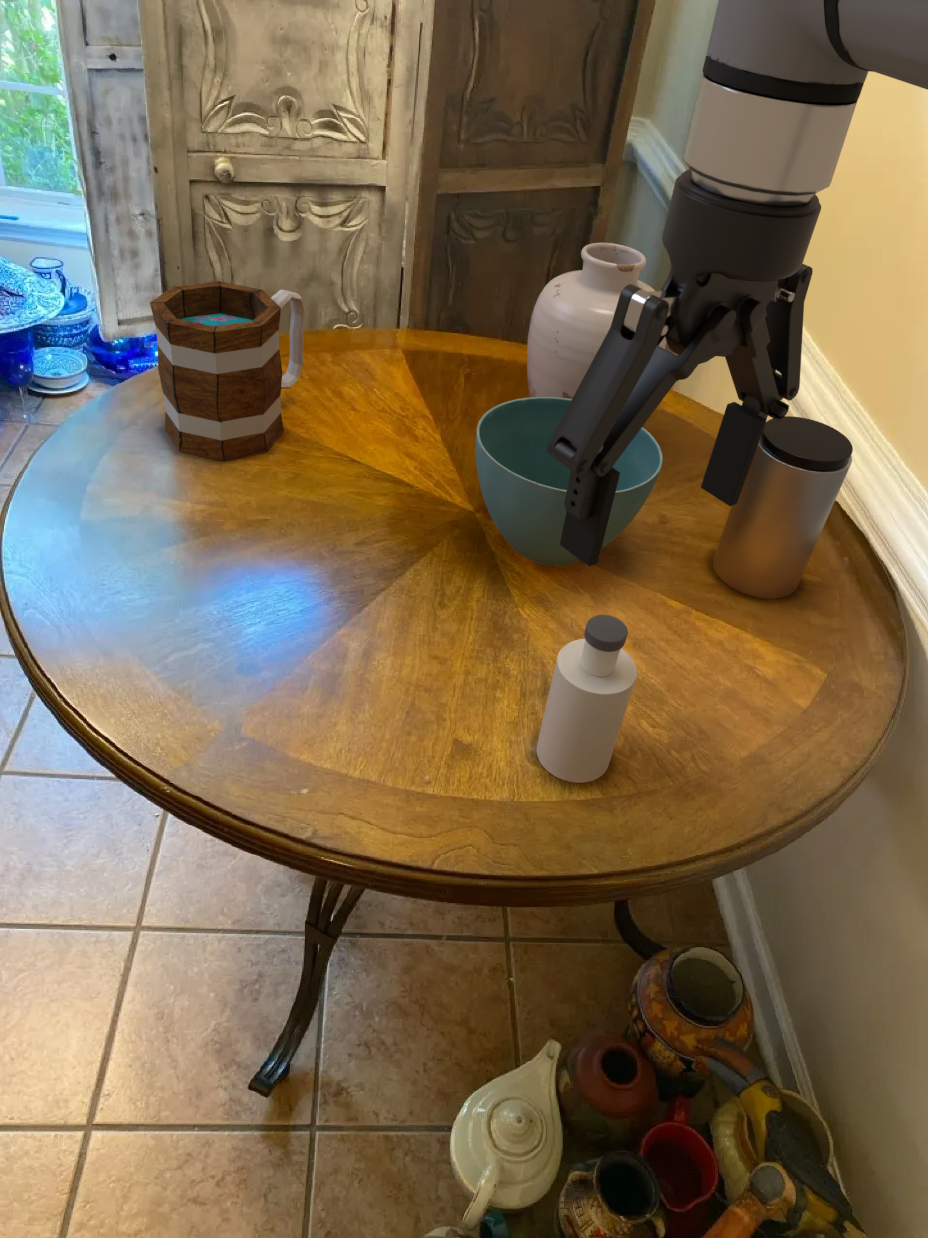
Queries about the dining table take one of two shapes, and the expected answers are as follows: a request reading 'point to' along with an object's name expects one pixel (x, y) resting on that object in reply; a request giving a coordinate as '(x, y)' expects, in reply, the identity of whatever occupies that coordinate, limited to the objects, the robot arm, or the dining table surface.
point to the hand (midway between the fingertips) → (652, 523)
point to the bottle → (587, 702)
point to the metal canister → (782, 507)
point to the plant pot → (548, 478)
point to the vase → (578, 318)
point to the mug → (225, 366)
